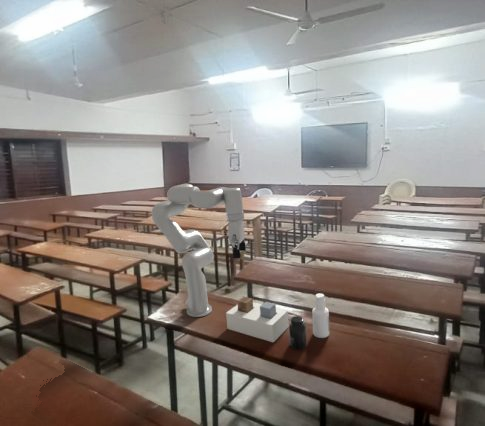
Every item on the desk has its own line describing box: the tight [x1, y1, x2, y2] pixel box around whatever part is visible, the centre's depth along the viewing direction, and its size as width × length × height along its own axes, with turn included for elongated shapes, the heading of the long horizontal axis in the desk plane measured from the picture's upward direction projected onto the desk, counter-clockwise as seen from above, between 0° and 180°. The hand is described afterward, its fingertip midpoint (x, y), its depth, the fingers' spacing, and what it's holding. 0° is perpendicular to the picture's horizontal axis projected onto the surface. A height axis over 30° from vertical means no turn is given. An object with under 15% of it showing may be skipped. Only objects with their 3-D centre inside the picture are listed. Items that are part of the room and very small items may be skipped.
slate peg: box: [260, 301, 277, 319], centre depth 162 cm, size 5×5×6 cm
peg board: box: [225, 301, 290, 343], centre depth 166 cm, size 24×14×8 cm, turn 55°
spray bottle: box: [311, 293, 330, 339], centre depth 156 cm, size 7×7×18 cm
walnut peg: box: [236, 296, 254, 313], centre depth 169 cm, size 5×5×6 cm
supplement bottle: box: [288, 315, 307, 351], centre depth 150 cm, size 7×7×12 cm
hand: (239, 254), depth 163 cm, fingers open, 9 cm apart
